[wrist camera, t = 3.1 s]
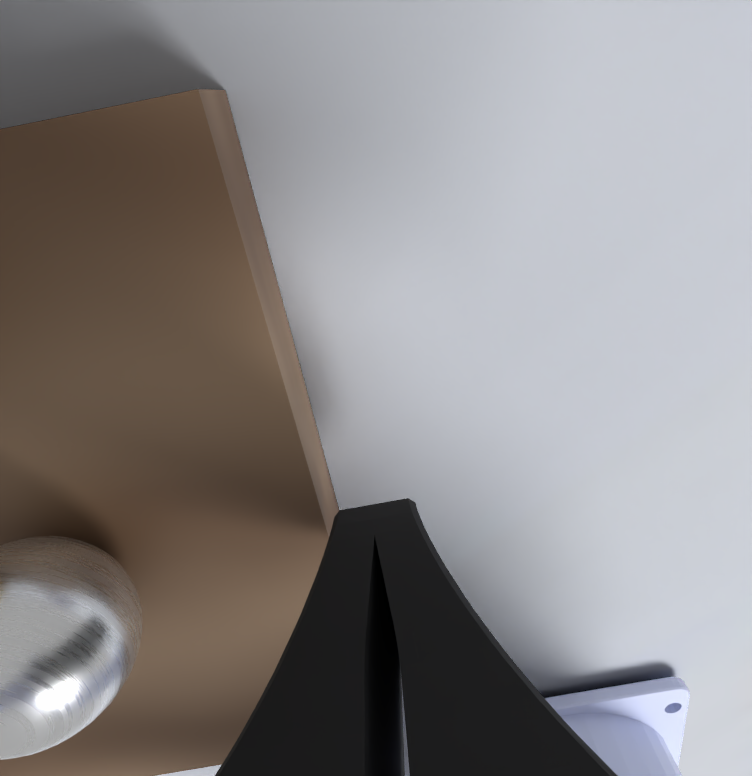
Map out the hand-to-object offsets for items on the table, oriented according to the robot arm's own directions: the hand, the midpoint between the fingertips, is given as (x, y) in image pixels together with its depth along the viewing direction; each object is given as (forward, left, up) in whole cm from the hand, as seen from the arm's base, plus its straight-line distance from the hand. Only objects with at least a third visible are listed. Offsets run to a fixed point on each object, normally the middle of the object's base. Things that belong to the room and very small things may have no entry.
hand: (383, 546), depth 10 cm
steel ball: (0, +6, +1) cm, 6 cm away
